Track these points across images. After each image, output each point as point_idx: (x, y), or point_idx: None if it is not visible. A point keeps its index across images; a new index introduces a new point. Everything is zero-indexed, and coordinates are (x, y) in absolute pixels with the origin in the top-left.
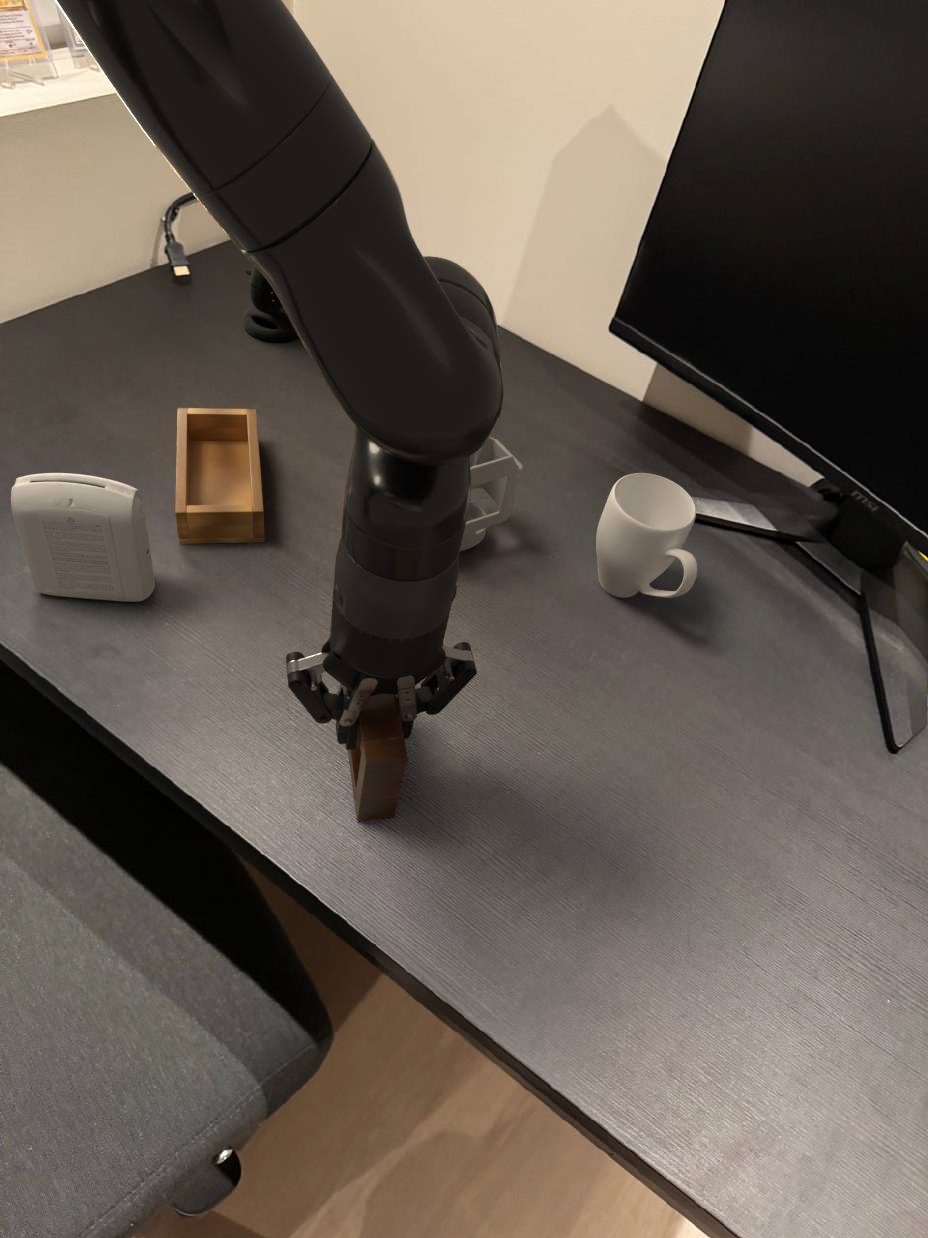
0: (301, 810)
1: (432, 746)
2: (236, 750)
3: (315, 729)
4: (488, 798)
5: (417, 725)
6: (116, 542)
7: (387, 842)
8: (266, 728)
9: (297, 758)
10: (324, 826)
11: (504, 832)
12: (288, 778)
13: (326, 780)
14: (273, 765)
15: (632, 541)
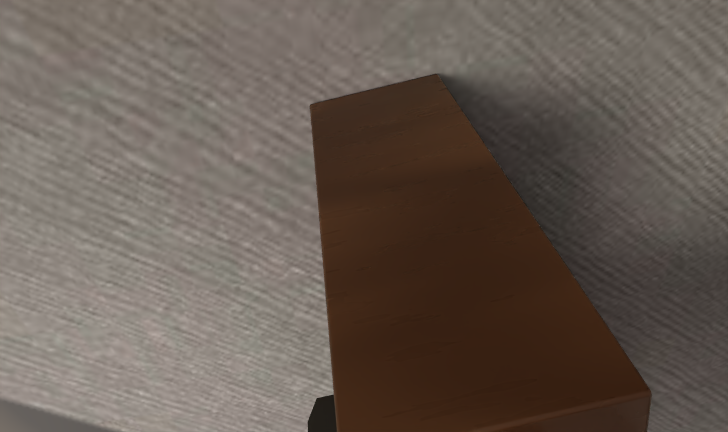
0: (251, 381)
1: (608, 172)
2: (2, 274)
3: (224, 171)
4: (718, 288)
5: (574, 103)
6: None
7: None
8: (57, 192)
9: (198, 269)
10: (313, 400)
11: (722, 350)
12: (192, 322)
13: (297, 311)
14: (136, 297)
15: None
